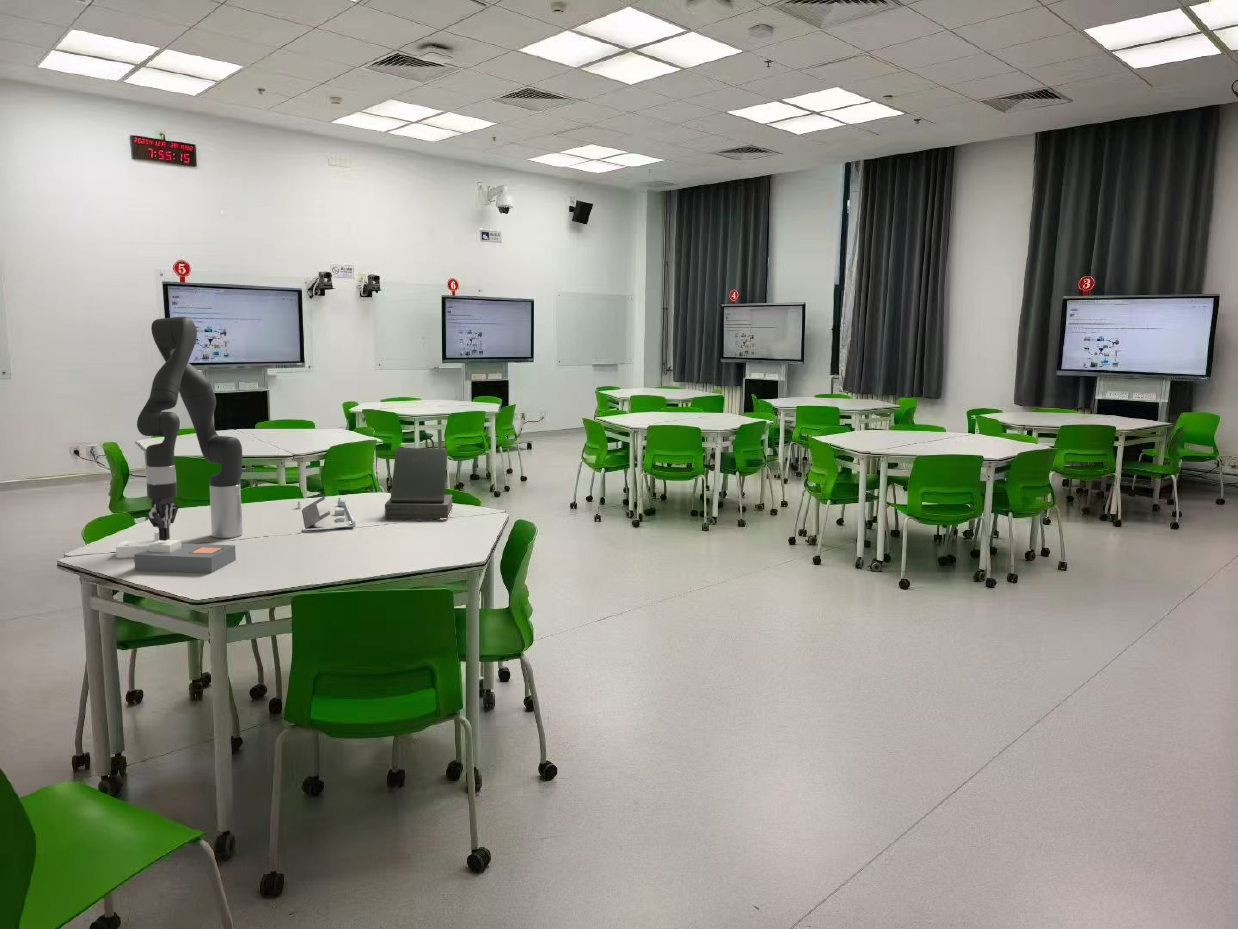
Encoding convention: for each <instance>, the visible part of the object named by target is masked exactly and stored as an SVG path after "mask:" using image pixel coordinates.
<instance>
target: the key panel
mask: <svg viewBox="0 0 1238 929" xmlns="http://www.w3.org/2000/svg"><path fill="white" fill-rule="evenodd" d="M181 547H182V548H180V549H178V550H176V551H173V552H171V553H166V552H149V549H146V550H144V551H142V552H139V553H137V554H135V555H134V557H133V559H134V570H135V571H148V572H170V573H171V572H175V573H177V572H178V573H201V574H202V573H205V574H208V573H209V574H213V573H215V572H216V571H218V570H220V569H222V568H224V567H225V566H228V565H229V564H231V563H233V562H235V561H236V559H237V557H236V555H237V552H236V545H235V544H234V545H233V544H211V543H210V544H209V543H207V544H205V543H185V542H184V543H183V542H181ZM201 547H206V548H222V550H220V551H218V552H216V553H214V554H194V553H191V552H193V551H195V550H197V549H199V548H201Z"/></svg>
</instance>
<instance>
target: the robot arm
mask: <svg viewBox="0 0 1238 929" xmlns="http://www.w3.org/2000/svg"><path fill="white" fill-rule="evenodd" d="M150 328H151V335H152V338H153V341H154V343H155V345H156V346H157V349H158V351H159V353H160V355H161V357H162V358H163V359H164V361H165V362H164V363H163V365H162V366H161V367H160V368H159V370H158V371H157V372H156V374H155V376H154V378H153V380H152V383H151V384H152V385H151V389H150V394H149V397H148V399H147V401H146V403H145V404H144V406H143V408H142V410H141V411H140V413H139V414H138V417H137V421H136V428H137V430H138V432H139V433H140V434H141V435H142V436H144V437H145V436H146V437H164V438H163V440H162V442H160V443H153V444H150V445H148V446H147V447H146V450H145V458H146V471H145V472H146V473H145V474H146V475H145V476H146V477H145V479H146V496H147V499H151V506H150V507H151V508H150V509H151V510H150V511H147V512H146V513H145V514H146V517H147V519H148V520H149V522H150V524H151V526H152V527H153V528H158V532H159V540H161V541H166V540H168V539H169V538H170V539H171V536H170V537H169V527H171V526H172V525H171V524H174V522H175V520H176V517H177V513H178V510H179V507H180V505H179V504H176V503H175V501H174V498H176V497H177V496H178V489H177V488H178V487H177V486H178V485H177V471H176V465H175V464H176V463H175V448H176V447H175V446H176V442H177V437H178V434H179V431H180V426H181V421H180V418H179V416H178V415H177V414H176V412H174V411H167V410H171V409H173V408H175V407H176V406H177V404H178V400H179V395H180V397H181V400H182V402H183V404H184V408H185V409H186V411H187V414H188V416H189V418H190V420H191V424H192V427H193V428H194V431H195V436H196V438H197V441H198V446H199V448H200V452H201V454H202V456H203V458H204V459H205V460H206V462H208V463H210V464H215V465H217V464H218V465H221V467H220V471H219V472H218V473H216V474H212V475H211V476H210V477H209V479H208V480H209V500H210V501H209V502H210V503H209V504H210V506H209V507H210V522H211V523H210V526H211V537H213V538H217V539H229V538H236V537H240V536H242V535H243V514H242V513H243V510H242V498H241V497H242V495H241V494H242V493H241V492H242V491H241V490H242V489H241V478H242V474H243V446H242V443H241V441H240V440H239V438H237V437H234V436H228V435H227V436H225V435H218V433H217V431H216V429H215V426H214V423H213V422H214V421H213V417H214V414H215V410H216V406H217V398H216V395H215V392H214V389H213V387H212V384H211V382H210V380H209V379H208V378H207V377H206V375H204V373H202V372H201V371H200V370H198V369H197V368H196V367H195V366H193V365H192V364H191V363H190V362H189V361H190V359H191V356H192V353H193V351H194V348H195V345H196V342H197V338H198V337H197V336H198V334H197V333H198V330H197V326H196V324H195V322H194V321H193V320H192V318H190V317H187V316H177V317H163V318H156V319H154V320H153V322H152V323H151V327H150Z"/></svg>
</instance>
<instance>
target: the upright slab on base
mask: <svg viewBox="0 0 1238 929" xmlns="http://www.w3.org/2000/svg"><path fill="white" fill-rule="evenodd" d="M394 454H395V455H394V462H393V470H392V471H393V472H392V482H391V488H390V490H391V491H390V496H389V499H388V500H387V501H386V502H385V504H384V520H385V521H388V520H389V521H399V520H400V521H412V520H411V519H440V518H448V519H449V517H448V515H449V513H450V511H451V509H452V510H453V506H454V505H453V501H454V499H453V497H454V495H453V494H445V492H446V483H447V482H446V481H447V468H448V467H447V466H448V456H449V455H448V454H449V452H448V448H436V447H435V448H432V447H431V448H425V447H423V448H422V447H421V448H420V447H416V448H415V447H412V448H411V447H396V448H395V453H394ZM451 512H452V511H451ZM450 514H451V513H450ZM449 516H450V515H449Z"/></svg>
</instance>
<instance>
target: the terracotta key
mask: <svg viewBox="0 0 1238 929" xmlns="http://www.w3.org/2000/svg"><path fill="white" fill-rule="evenodd" d="M220 550H222V548H206V547H201V548H199V549H197V550H195V551H193V552H191V553H194V554H214V553H216V552H218V551H220Z"/></svg>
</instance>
